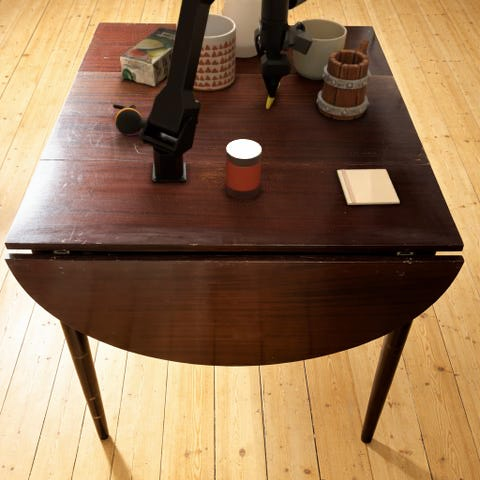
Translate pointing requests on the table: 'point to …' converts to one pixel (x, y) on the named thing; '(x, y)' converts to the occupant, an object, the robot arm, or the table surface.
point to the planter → (319, 47)
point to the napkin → (367, 187)
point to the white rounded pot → (244, 24)
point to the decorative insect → (270, 100)
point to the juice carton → (149, 58)
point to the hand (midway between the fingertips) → (269, 88)
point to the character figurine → (128, 120)
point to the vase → (217, 55)
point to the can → (243, 169)
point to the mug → (345, 84)
